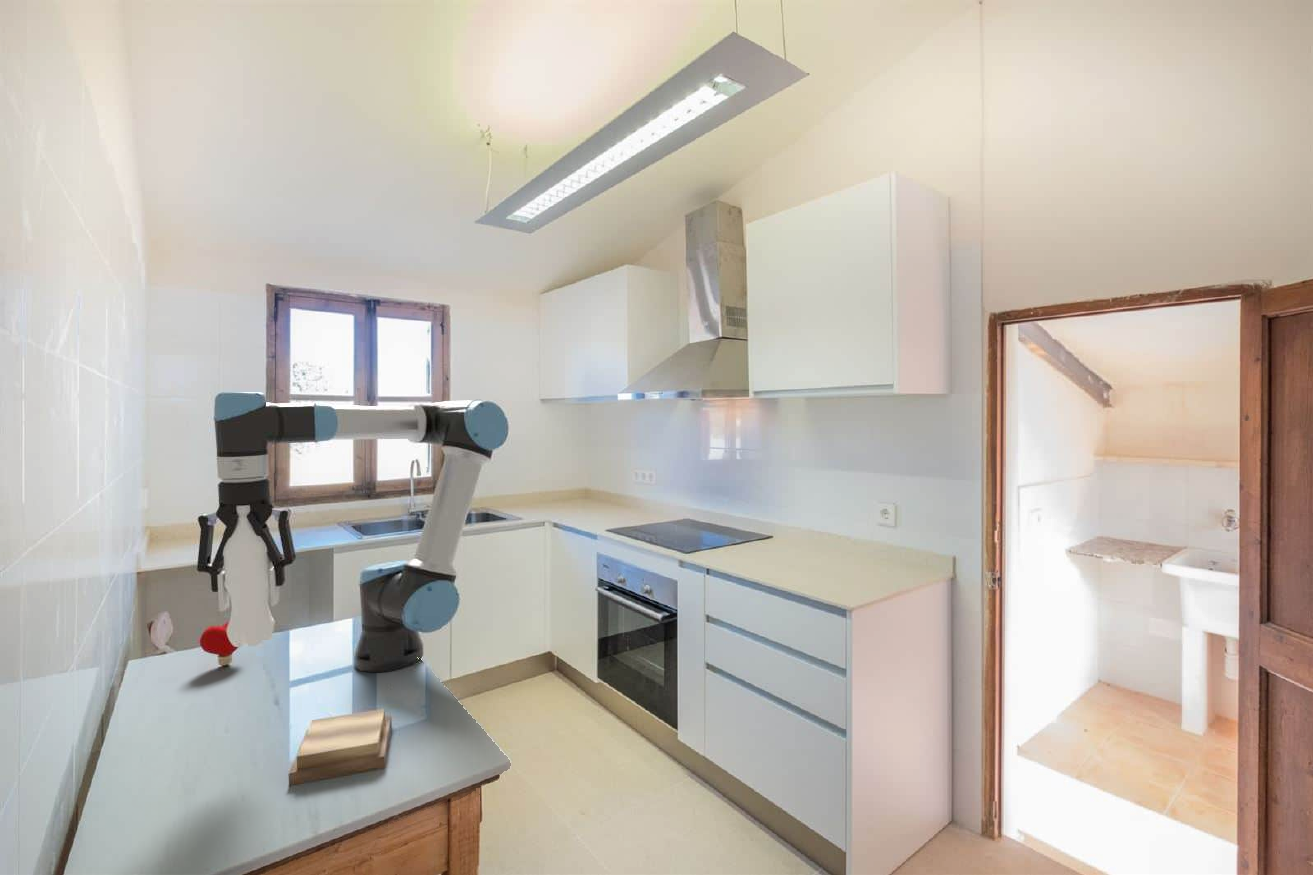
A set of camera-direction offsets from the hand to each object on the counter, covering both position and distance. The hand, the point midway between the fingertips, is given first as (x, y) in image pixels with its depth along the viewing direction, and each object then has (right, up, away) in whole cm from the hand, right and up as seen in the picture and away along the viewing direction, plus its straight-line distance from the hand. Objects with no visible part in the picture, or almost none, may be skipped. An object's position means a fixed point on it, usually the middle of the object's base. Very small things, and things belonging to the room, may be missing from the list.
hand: (250, 606), depth 108 cm
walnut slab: (+18, -25, -3) cm, 31 cm away
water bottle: (0, -7, 0) cm, 7 cm away
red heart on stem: (-28, -23, +33) cm, 49 cm away
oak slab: (+18, -23, -3) cm, 30 cm away
